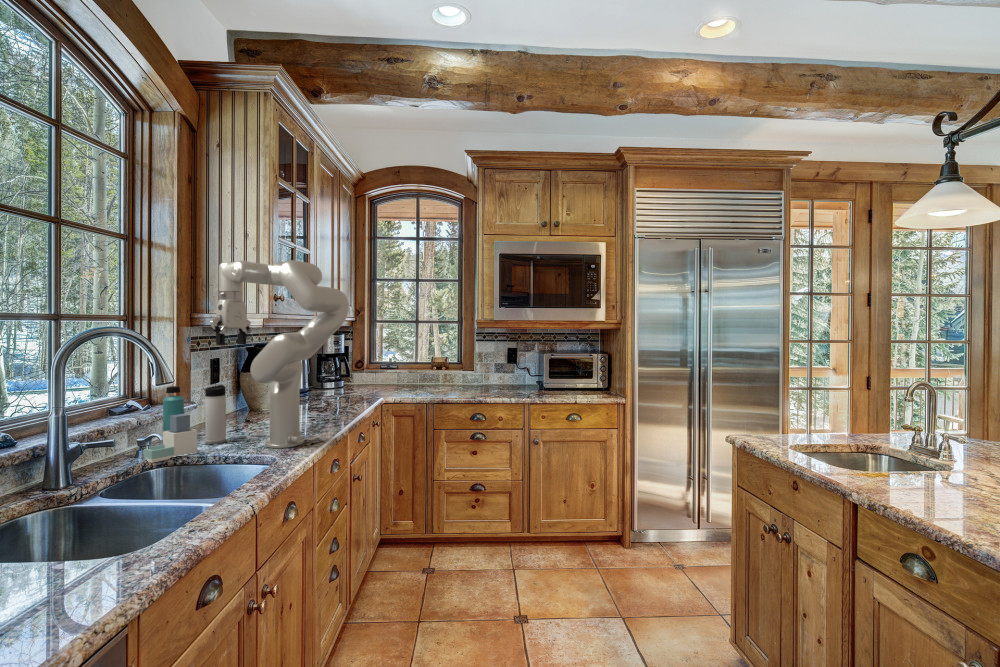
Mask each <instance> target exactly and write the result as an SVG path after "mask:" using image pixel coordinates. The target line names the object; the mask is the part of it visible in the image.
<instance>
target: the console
mask: <svg viewBox="0 0 1000 667" xmlns="http://www.w3.org/2000/svg"><path fill="white" fill-rule="evenodd" d="M162 440H163V441H162V442H163V443H162V444H158V445H151V446H148V447H149V449H144V450H143V454H144V457H145V458H146V459H147V461H148V463H152V464H154V463H156V462H157V463H158V462H161V461H167V460H171V459H170V458H171V457H174V456H178V455H184V454H190V453H195V452H197V453H198V430H197V429H194V428H190V431H186V432H180V433H171V432H170V431H164V432H163V431H162ZM147 461H146V462H147Z"/></svg>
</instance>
